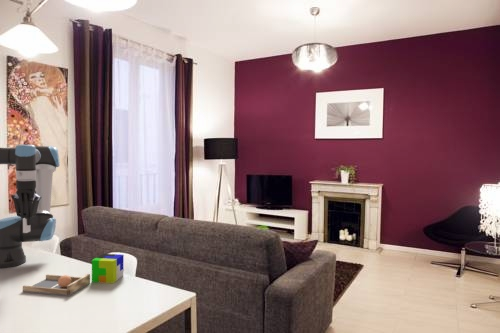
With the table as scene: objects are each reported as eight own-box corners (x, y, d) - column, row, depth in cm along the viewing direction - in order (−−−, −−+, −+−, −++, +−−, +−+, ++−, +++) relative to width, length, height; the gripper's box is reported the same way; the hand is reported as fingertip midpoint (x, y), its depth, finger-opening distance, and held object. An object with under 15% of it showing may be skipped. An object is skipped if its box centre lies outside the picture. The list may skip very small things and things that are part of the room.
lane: (47, 279, 159) (47, 278, 159) (89, 283, 156) (89, 282, 156) (22, 291, 145) (22, 290, 145) (69, 296, 142) (69, 294, 142)
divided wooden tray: (47, 278, 159) (47, 270, 158) (89, 282, 156) (89, 274, 155) (22, 290, 145) (22, 281, 145) (69, 294, 142) (69, 286, 142)
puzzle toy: (123, 275, 166) (123, 254, 166) (113, 283, 156) (113, 261, 156) (103, 274, 167) (103, 253, 167) (91, 282, 157) (91, 260, 157)
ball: (75, 278, 151) (69, 287, 152) (67, 271, 152) (60, 280, 152) (68, 282, 146) (62, 291, 147) (59, 275, 147) (53, 284, 147)
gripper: (5, 180, 152) (6, 233, 154) (33, 181, 151) (34, 235, 153) (18, 178, 160) (19, 228, 162) (45, 179, 158) (46, 230, 160)
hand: (26, 232), depth 157 cm, fingers closed
